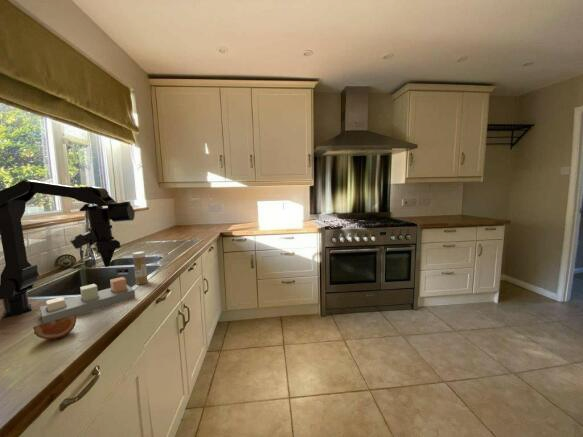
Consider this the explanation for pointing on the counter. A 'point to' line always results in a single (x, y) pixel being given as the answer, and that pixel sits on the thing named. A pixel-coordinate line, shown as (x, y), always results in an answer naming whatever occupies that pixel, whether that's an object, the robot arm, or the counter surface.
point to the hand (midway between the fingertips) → (106, 266)
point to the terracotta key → (118, 284)
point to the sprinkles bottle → (140, 267)
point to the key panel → (86, 304)
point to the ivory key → (55, 304)
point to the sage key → (89, 292)
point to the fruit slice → (56, 328)
